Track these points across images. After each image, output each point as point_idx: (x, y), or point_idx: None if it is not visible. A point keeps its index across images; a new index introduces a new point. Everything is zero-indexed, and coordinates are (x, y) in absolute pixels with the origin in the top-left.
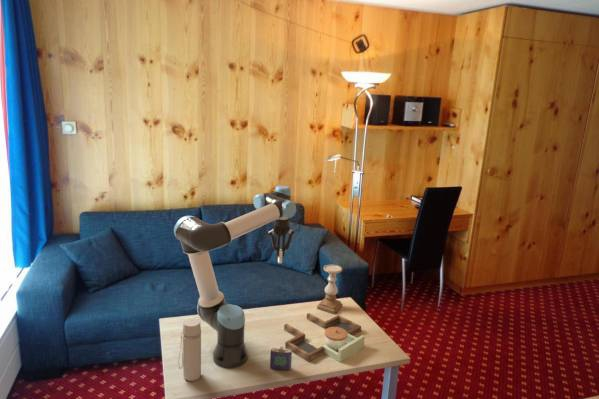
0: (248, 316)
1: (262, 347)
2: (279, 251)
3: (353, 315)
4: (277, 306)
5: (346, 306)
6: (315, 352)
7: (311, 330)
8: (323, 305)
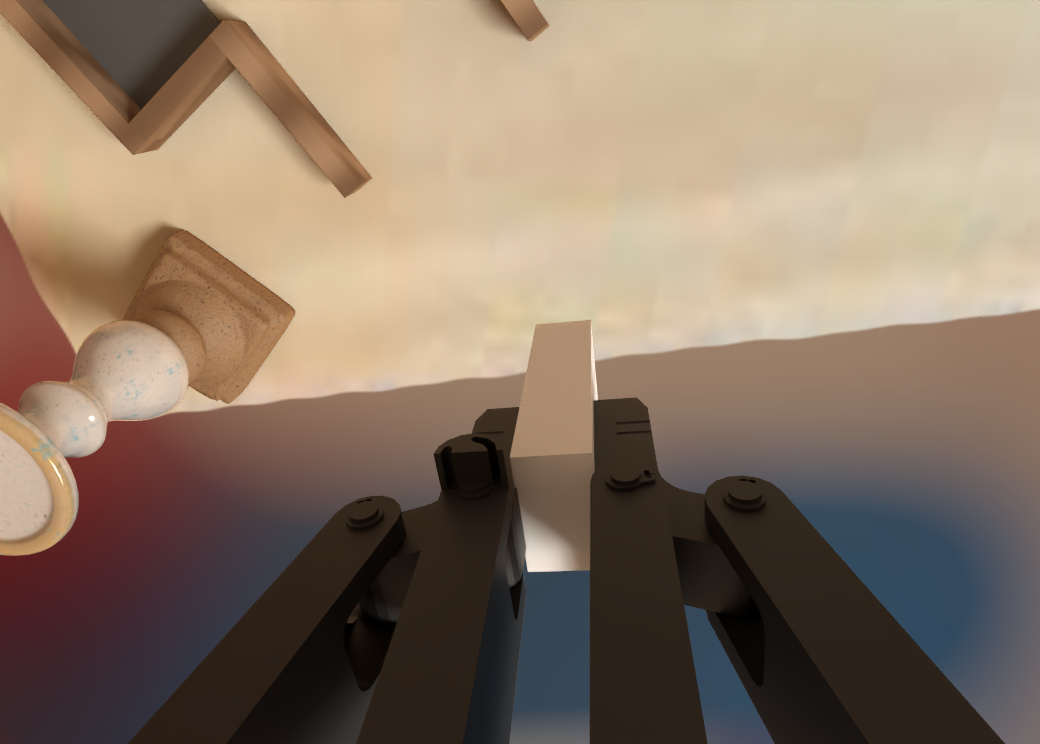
0: (777, 246)
1: None
2: (593, 460)
3: (56, 205)
4: None
5: None
6: None
7: (346, 6)
8: (239, 301)
